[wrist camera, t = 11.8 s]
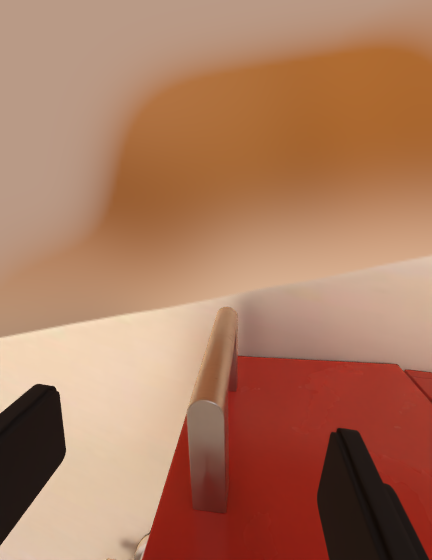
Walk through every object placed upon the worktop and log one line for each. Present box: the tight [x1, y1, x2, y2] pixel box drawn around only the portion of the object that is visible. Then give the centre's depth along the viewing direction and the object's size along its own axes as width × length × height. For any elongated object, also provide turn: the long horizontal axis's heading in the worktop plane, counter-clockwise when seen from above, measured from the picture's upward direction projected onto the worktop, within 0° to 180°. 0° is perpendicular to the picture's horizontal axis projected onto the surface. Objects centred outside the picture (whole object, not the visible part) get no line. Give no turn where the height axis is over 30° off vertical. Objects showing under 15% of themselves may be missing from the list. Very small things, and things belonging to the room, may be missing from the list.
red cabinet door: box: [142, 307, 432, 560], centre depth 16 cm, size 7×17×17 cm, turn 91°
